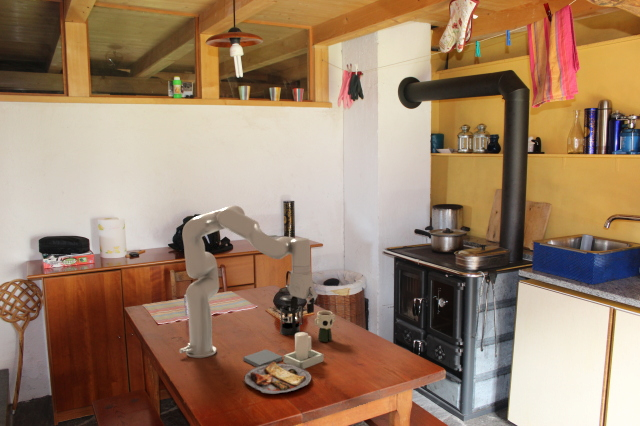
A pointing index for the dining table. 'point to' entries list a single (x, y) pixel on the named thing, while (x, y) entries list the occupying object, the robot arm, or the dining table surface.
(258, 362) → the slate coaster
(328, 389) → the dining table surface
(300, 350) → the cream jug
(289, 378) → the food plate
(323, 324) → the character mug
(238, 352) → the dining table surface
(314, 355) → the cream rectangular frame
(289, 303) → the french press
